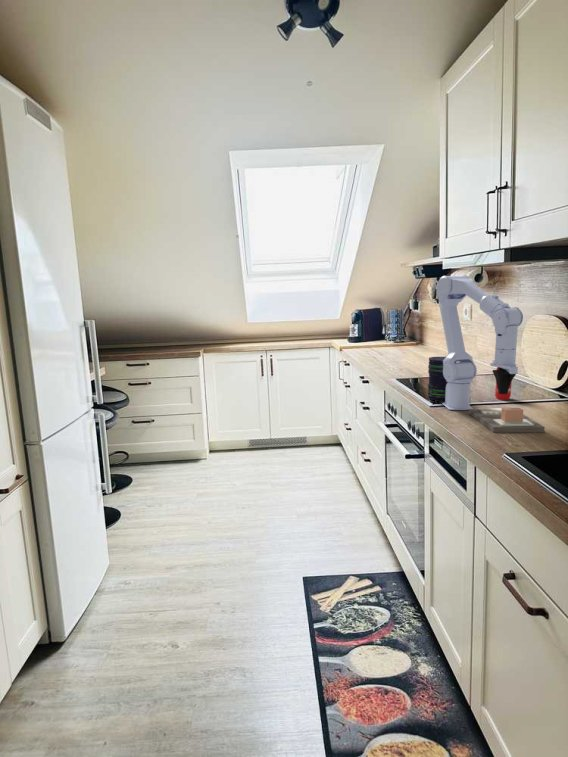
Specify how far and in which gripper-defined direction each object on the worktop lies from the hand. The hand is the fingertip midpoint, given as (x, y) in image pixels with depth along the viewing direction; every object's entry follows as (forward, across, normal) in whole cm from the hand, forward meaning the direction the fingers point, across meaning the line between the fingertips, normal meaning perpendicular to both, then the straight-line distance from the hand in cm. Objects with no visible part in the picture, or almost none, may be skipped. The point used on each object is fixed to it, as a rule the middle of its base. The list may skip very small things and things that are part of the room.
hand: (502, 393), depth 155 cm
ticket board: (+8, +2, 0) cm, 8 cm away
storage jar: (+9, -31, -10) cm, 34 cm away
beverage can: (+9, -31, +12) cm, 35 cm away
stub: (+7, +9, 0) cm, 11 cm away
